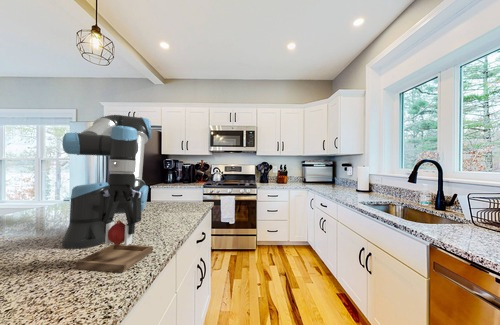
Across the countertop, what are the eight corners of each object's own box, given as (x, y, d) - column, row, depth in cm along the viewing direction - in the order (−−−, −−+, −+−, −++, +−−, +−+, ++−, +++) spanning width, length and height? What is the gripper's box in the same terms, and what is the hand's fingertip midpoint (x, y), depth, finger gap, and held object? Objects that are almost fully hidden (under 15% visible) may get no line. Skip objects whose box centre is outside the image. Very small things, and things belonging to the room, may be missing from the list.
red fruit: (113, 242, 70) (115, 218, 71) (131, 242, 71) (132, 218, 71) (103, 248, 65) (104, 222, 65) (122, 248, 65) (124, 222, 65)
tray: (75, 268, 61) (76, 261, 61) (113, 249, 76) (113, 243, 76) (123, 272, 60) (123, 265, 60) (152, 251, 75) (152, 246, 75)
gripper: (86, 172, 66) (81, 246, 65) (142, 173, 64) (138, 249, 63) (104, 172, 74) (101, 238, 73) (155, 173, 72) (152, 241, 71)
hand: (118, 243), depth 68 cm, fingers closed on red fruit, 6 cm apart
